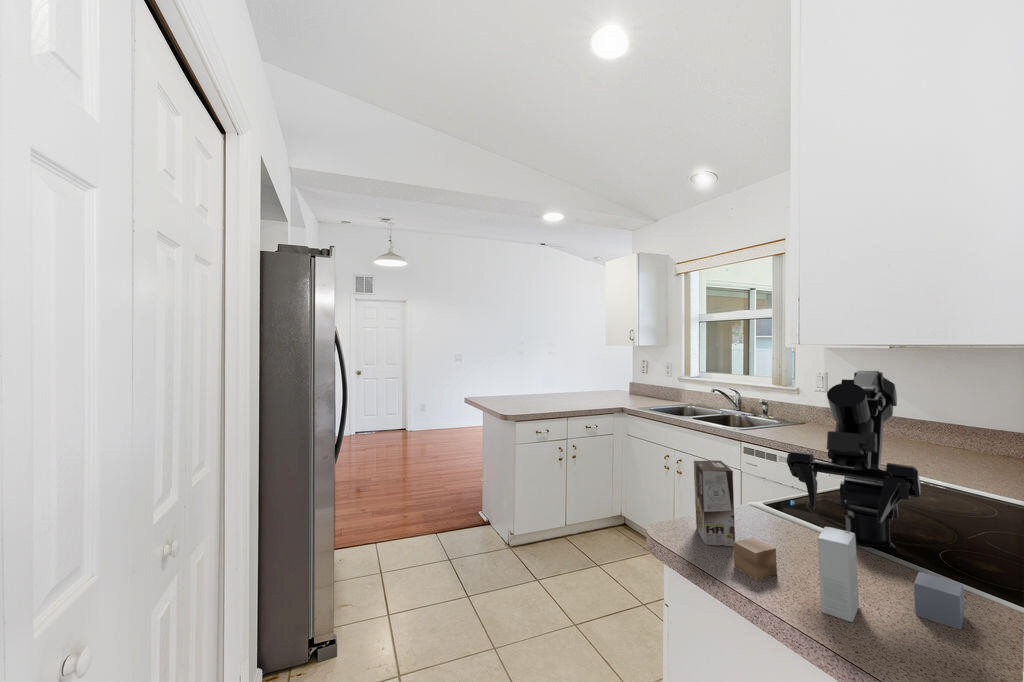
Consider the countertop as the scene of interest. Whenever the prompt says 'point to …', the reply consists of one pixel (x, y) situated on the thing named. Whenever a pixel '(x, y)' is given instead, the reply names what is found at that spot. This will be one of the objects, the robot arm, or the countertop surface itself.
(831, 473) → the robot arm
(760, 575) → the walnut block
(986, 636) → the countertop surface
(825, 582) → the skincare box
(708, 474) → the coffee box
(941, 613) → the slate block
